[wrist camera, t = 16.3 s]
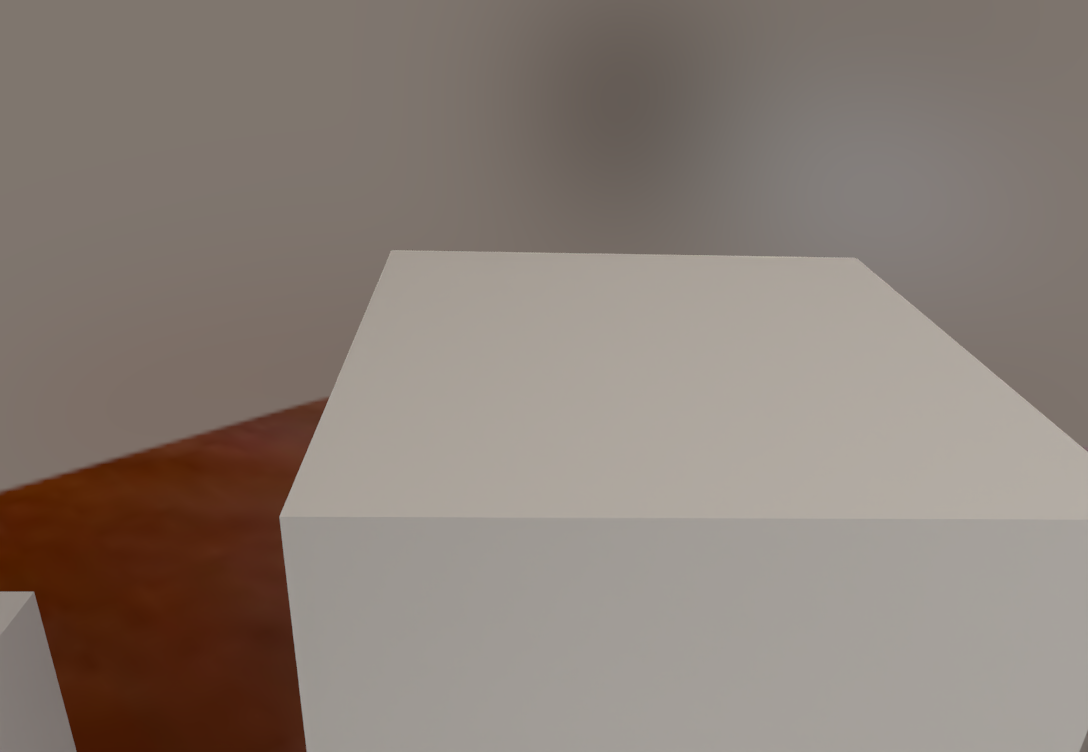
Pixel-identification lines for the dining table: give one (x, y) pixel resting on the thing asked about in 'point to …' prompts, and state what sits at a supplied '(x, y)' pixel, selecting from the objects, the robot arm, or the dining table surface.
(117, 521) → the dining table surface
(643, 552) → the switch lever
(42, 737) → the robot arm
